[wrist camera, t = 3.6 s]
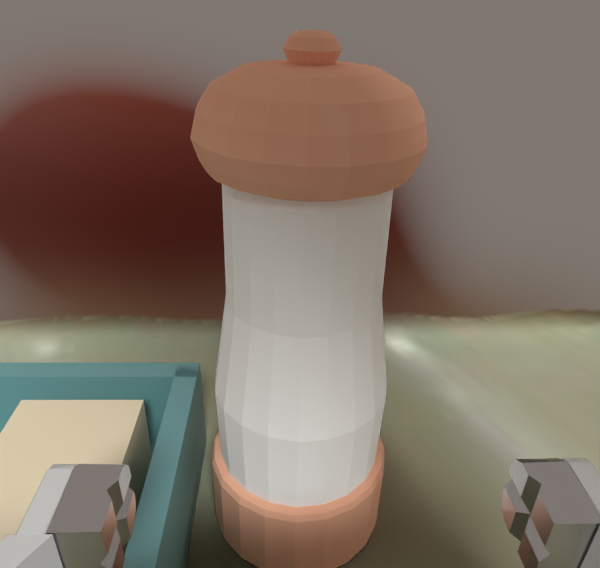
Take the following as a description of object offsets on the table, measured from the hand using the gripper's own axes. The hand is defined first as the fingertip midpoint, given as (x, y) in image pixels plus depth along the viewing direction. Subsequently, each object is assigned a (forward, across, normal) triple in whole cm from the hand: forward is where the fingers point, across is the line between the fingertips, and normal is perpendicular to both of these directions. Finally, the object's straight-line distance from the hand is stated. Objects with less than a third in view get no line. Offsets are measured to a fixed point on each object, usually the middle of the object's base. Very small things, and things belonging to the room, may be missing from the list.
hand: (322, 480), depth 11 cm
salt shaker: (+8, 0, +11) cm, 14 cm away
